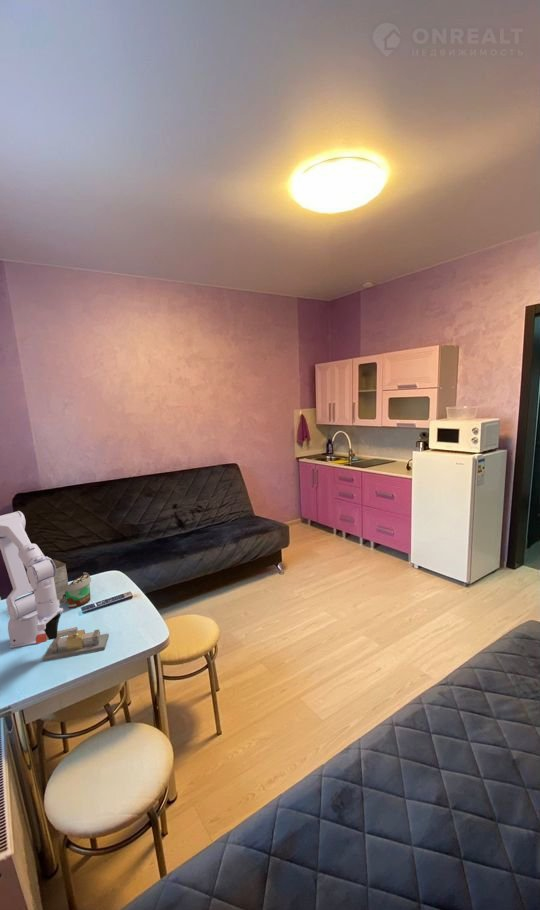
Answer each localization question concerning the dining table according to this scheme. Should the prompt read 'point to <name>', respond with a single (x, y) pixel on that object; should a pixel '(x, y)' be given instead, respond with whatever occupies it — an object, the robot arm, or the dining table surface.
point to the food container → (78, 591)
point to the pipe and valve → (76, 641)
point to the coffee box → (60, 581)
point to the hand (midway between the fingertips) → (52, 638)
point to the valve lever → (62, 633)
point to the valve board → (85, 649)
